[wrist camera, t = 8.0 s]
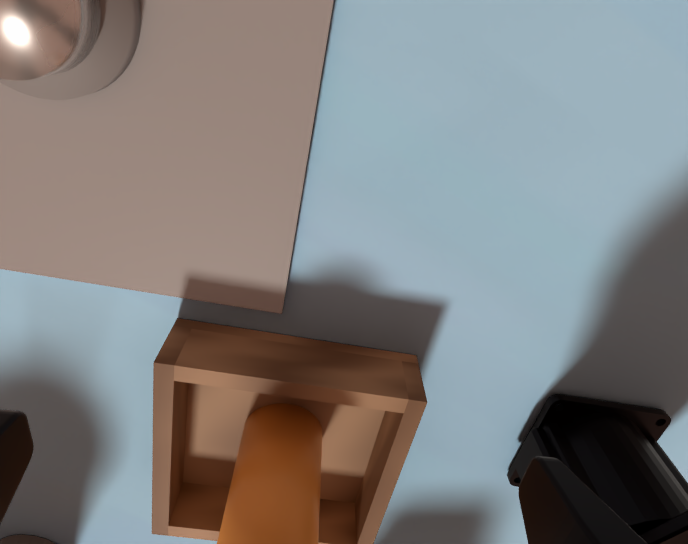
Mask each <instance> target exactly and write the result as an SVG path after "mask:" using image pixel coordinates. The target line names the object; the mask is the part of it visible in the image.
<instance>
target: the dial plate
mask: <svg viewBox="0 0 688 544" xmlns="http://www.w3.org/2000/svg"><path fill="white" fill-rule="evenodd" d="M99 1H100V11H101V17H100V28H99V33H98V37H97V40H96V43H95V45H94V47H93V49H92V50H91V52H90V53H89V55H88V56H87V57H86V58H85V59H84V61H83V62H82V63H80V64H79V65H77V66H76V67H75V68H73V69H71V70H69V71H66V72H63V73H60V74H55V75H50V76H45V77H41V78H36V79H30V80H23V81H12V80H5V79H0V269H5V270H11V271H17V272H24V273H30V274H36V275H42V276H49V277H55V278H61V279H67V280H74V281H80V282H86V283H92V284H99V285H105V286H111V287H117V288H124V289H130V290H136V291H142V292H148V293H155V294H161V295H167V296H173V297H180V298H186V299H192V300H198V301H205V302H211V303H217V304H223V305H230V306H236V307H242V308H248V309H255V310H261V311H267V312H273V313H280V314H282V310H283V305H284V299H285V292H286V286H287V280H288V274H289V268H290V262H291V256H292V250H293V244H294V238H295V232H296V226H297V220H298V214H299V208H300V202H301V196H302V190H303V184H304V178H305V172H306V165H307V159H308V153H309V147H310V141H311V135H312V129H313V123H314V117H315V111H316V105H317V99H318V93H319V87H320V81H321V75H322V69H323V63H324V57H325V51H326V45H327V38H328V32H329V26H330V20H331V14H332V8H333V2H334V0H99Z"/></svg>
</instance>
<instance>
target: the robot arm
mask: <svg viewBox="0 0 688 544" xmlns="http://www.w3.org/2000/svg"><path fill="white" fill-rule="evenodd" d="M557 404H559V405H557ZM670 422H671V418H670V417H669V416H668V415H667V413H666V412H665V411H664V410H661V409H654V408H648V407H641V406H635V405H628V404H621V403H615V402H608V401H602V400H595V399H588V398H582V397H575V396H569V395H562V394H556V395H553V396H551V397H549V399H548V400H547V401H546V403H545V405H544V407H543V409H542V411H541V412H540V414H539V416H538V418H537V420H536V422H535V423H534V425H533V427H532V429H531V431H530V432H529V434H528V436H527V438H526V440H525V442H524V443H523V445H522V447H521V449H520V451H519V453H518V454H517V456H516V458H515V460H514V462H513V464H512V466H511V468H510V469H509V471H508V474H507V476H508V479H509V482H510V484H511V485H513V486H518V487H519V499H520V504H521V509H522V514H523V519H524V524H525V529H526V534H527V539H528V544H688V483H687V482H686V480H685V479H684V478H683V476H682V475H681V474H680V472H679V471H678V470H677V468H676V467H675V466H674V464H673V463H672V462H671V460H670V459H669V457H668V456H667V455H666V453H665V452H664V451H663V449H662V448H661V447H660V445H659V444H658V443H657V440H658V439H659V438H660V436H661V435H662V434H663V432H664V431H665V430H666V428H667V427H668V425H669V424H670ZM32 453H33V440H32V436H31V432H30V428H29V424H28V420H27V417H26V415H25V414H24V413H23V412H21V411H14V410H0V524H1V522H2V520H3V518H4V516H5V514H6V511H7V509H8V507H9V505H10V503H11V501H12V498H13V496H14V494H15V492H16V490H17V488H18V485H19V483H20V481H21V479H22V477H23V475H24V472H25V470H26V468H27V466H28V464H29V462H30V459H31V457H32Z"/></svg>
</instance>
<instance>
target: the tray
mask: <svg viewBox="0 0 688 544" xmlns="http://www.w3.org/2000/svg"><path fill="white" fill-rule="evenodd" d="M277 403H285V404H292V405H296V406H299V407H302V408H304V409H306V410H308V411H309V412H311V413H312V414H313V415H314V416H315V417H316V418H317V419H318V420H319V422H320V424H321V427H322V460H321V486H320V512H319V538H318V544H373V543H374V540H375V538H376V535H377V532H378V530H379V527H380V525H381V522H382V519H383V517H384V514H385V512H386V509H387V506H388V504H389V501H390V498H391V496H392V493H393V491H394V488H395V485H396V483H397V480H398V477H399V475H400V472H401V470H402V467H403V464H404V462H405V459H406V457H407V454H408V451H409V449H410V446H411V443H412V441H413V438H414V436H415V433H416V430H417V428H418V425H419V423H420V420H421V417H422V415H423V412H424V409H425V407H426V404H427V399H426V395H425V390H424V386H423V382H422V377H421V373H420V369H419V364H418V360H417V356H416V355H411V354H404V353H398V352H392V351H385V350H379V349H372V348H366V347H359V346H353V345H347V344H340V343H334V342H327V341H321V340H314V339H308V338H302V337H295V336H289V335H282V334H276V333H270V332H263V331H257V330H250V329H244V328H237V327H231V326H225V325H218V324H212V323H205V322H199V321H192V320H186V319H180V318H177V320H176V322H175V324H174V325H173V327H172V329H171V331H170V333H169V335H168V337H167V339H166V340H165V342H164V344H163V346H162V348H161V350H160V352H159V354H158V355H157V357H156V359H155V361H154V381H153V474H152V534H158V535H167V536H177V537H186V538H195V539H204V540H214V541H218V537H219V533H220V528H221V524H222V520H223V515H224V511H225V507H226V502H227V498H228V494H229V489H230V485H231V481H232V476H233V472H234V468H235V463H236V459H237V455H238V450H239V446H240V442H241V437H242V433H243V429H244V424H245V422H246V420H247V418H248V417H249V416H250V415H251V414H252V413H253V412H254V411H255V410H257V409H259V408H261V407H263V406H266V405H270V404H277Z"/></svg>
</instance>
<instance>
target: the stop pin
mask: <svg viewBox="0 0 688 544" xmlns="http://www.w3.org/2000/svg"><path fill="white" fill-rule="evenodd" d="M321 460H322V427H321V424H320V422H319V420H318V419H317V418H316V417H315V416H314V415H313V414H312V413H311V412H309V411H308V410H306V409H304V408H302V407H299V406H296V405H292V404H285V403H277V404H270V405H266V406H263V407H261V408H259V409H257V410H255V411H254V412H253V413H252V414H251V415H250V416H249V417H248V418H247V420H246V422H245V424H244V429H243V433H242V437H241V442H240V446H239V450H238V455H237V459H236V463H235V468H234V472H233V476H232V481H231V485H230V489H229V494H228V498H227V502H226V507H225V511H224V515H223V520H222V524H221V528H220V533H219V537H218V541H217V544H318V538H319V512H320V486H321Z"/></svg>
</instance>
